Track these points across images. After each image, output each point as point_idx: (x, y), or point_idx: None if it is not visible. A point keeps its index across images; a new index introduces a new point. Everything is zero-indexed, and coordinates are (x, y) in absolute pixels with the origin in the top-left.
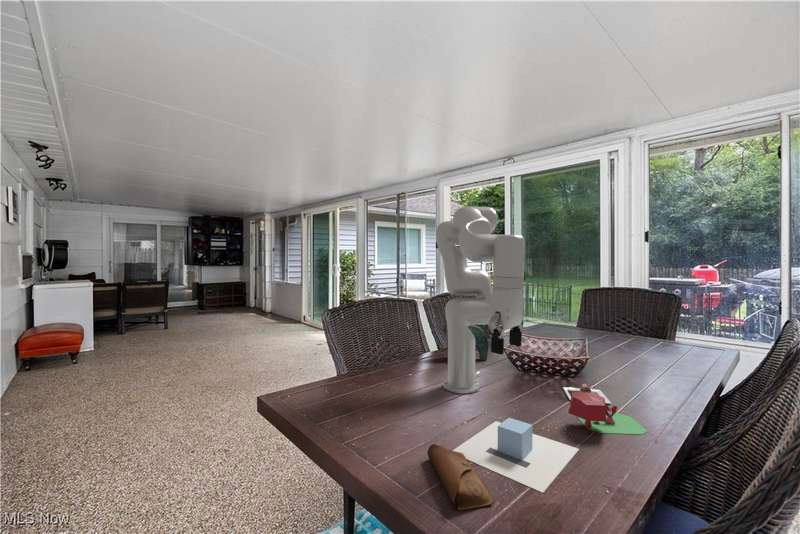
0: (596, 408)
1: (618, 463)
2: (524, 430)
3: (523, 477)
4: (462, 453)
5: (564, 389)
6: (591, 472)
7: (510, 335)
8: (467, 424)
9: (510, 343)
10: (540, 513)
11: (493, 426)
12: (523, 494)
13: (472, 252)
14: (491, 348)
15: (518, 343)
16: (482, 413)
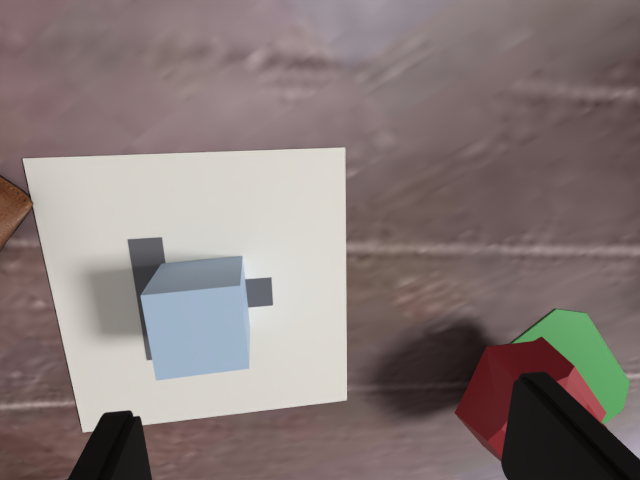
0: (496, 453)
1: (344, 474)
2: (186, 372)
3: (100, 376)
4: (18, 216)
5: None
6: (258, 456)
7: (583, 462)
8: (246, 77)
9: (517, 392)
10: (9, 460)
11: (300, 164)
12: (37, 408)
13: None
14: (93, 441)
15: (517, 477)
16: (374, 67)
